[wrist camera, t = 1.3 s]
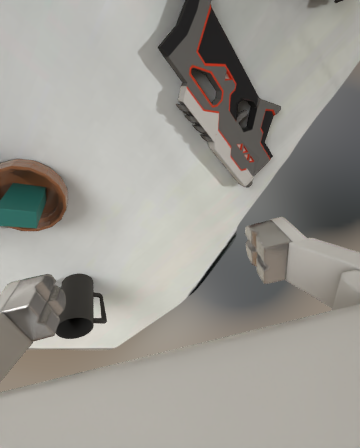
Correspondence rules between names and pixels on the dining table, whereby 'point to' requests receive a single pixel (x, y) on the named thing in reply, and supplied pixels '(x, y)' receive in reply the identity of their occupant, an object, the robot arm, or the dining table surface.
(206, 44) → the futuristic firearm
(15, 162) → the bowl
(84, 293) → the mug
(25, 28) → the dining table surface
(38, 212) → the block
